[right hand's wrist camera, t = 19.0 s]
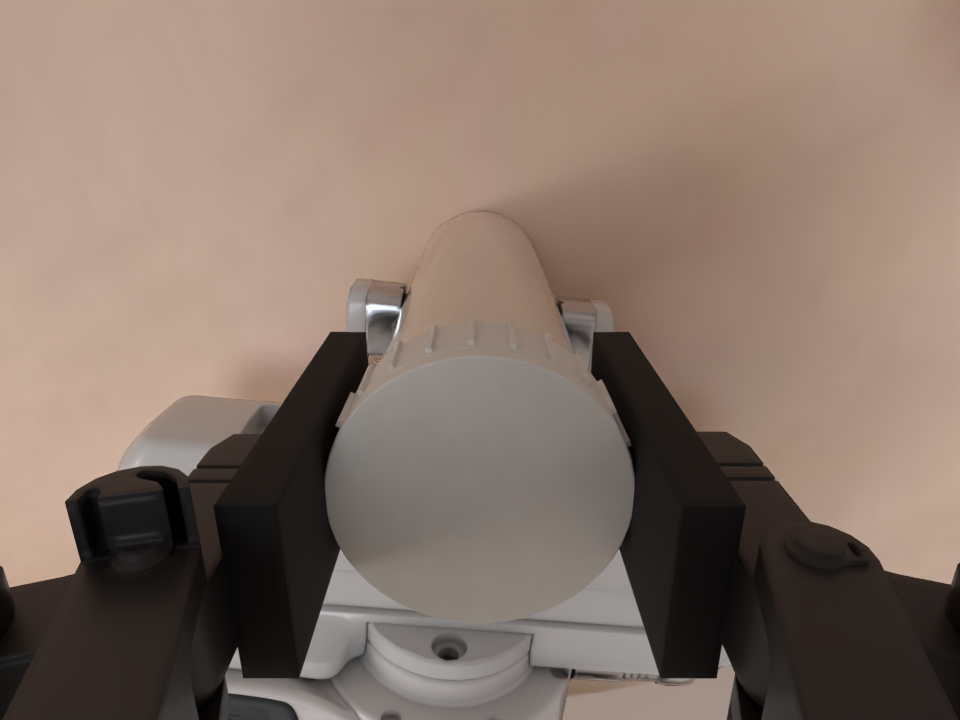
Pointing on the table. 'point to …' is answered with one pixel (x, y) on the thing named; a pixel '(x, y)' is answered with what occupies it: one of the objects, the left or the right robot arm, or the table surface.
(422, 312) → the jar
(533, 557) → the lid
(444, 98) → the table surface
